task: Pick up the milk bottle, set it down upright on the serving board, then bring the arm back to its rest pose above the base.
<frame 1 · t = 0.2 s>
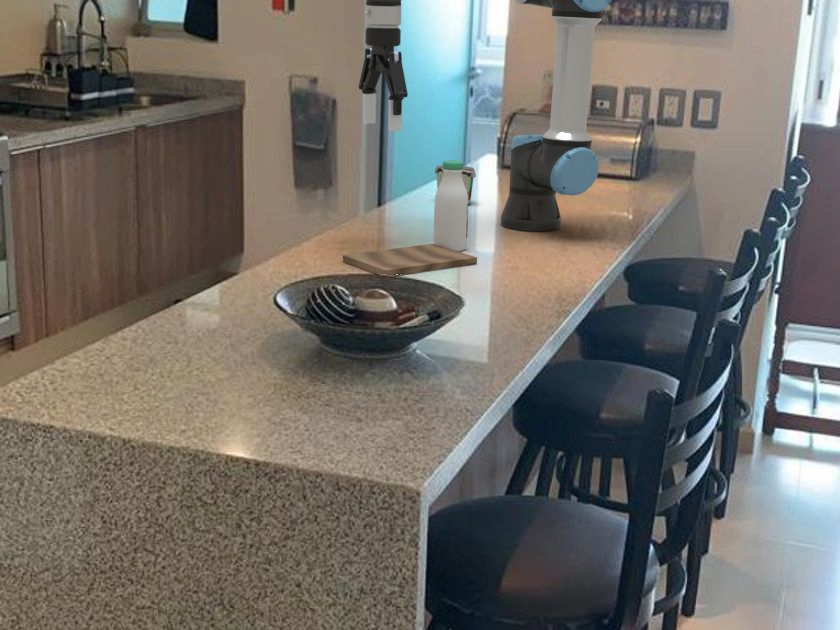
hand: (381, 127, 254), 28 cm above the worktop, fingers open, 13 cm apart
milk bottle: (449, 249, 265), on the worktop
food container: (458, 203, 323), on the worktop
board: (409, 263, 250), on the worktop
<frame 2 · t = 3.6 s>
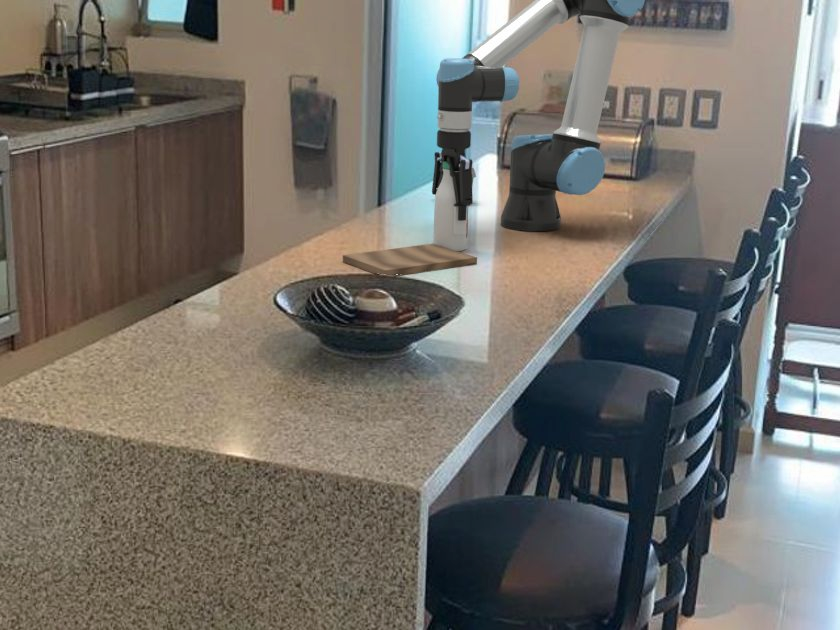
hand: (450, 230, 264), 4 cm above the worktop, fingers closed on milk bottle, 8 cm apart
milk bottle: (450, 249, 265), on the worktop, touching gripper
everything else where it was.
when the fingers open (7 cm above the worktop, at t = 9.9 s): milk bottle drops 1 cm, resting on board.
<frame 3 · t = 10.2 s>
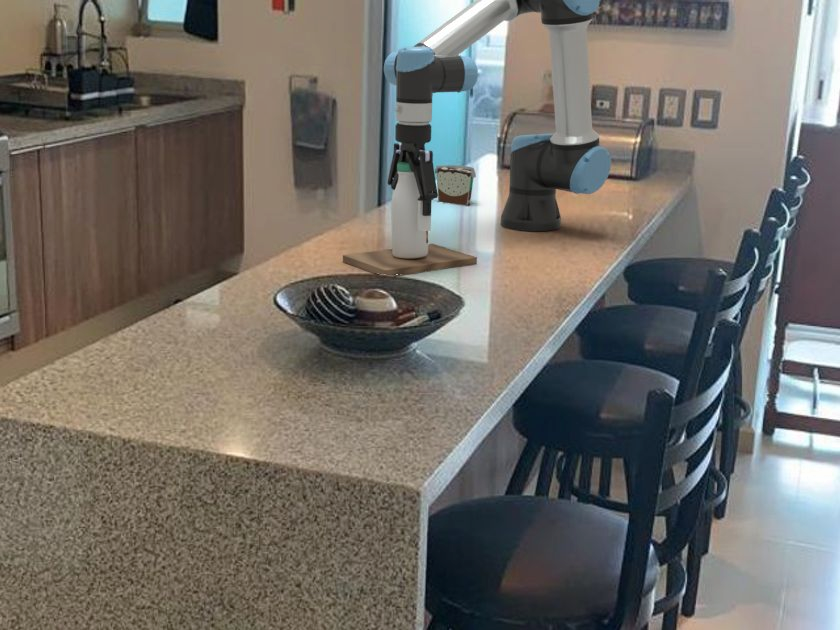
hand: (410, 225, 248), 8 cm above the worktop, fingers open, 12 cm apart
milk bottle: (410, 256, 249), point 1 cm above the worktop, touching board
everything else where it was.
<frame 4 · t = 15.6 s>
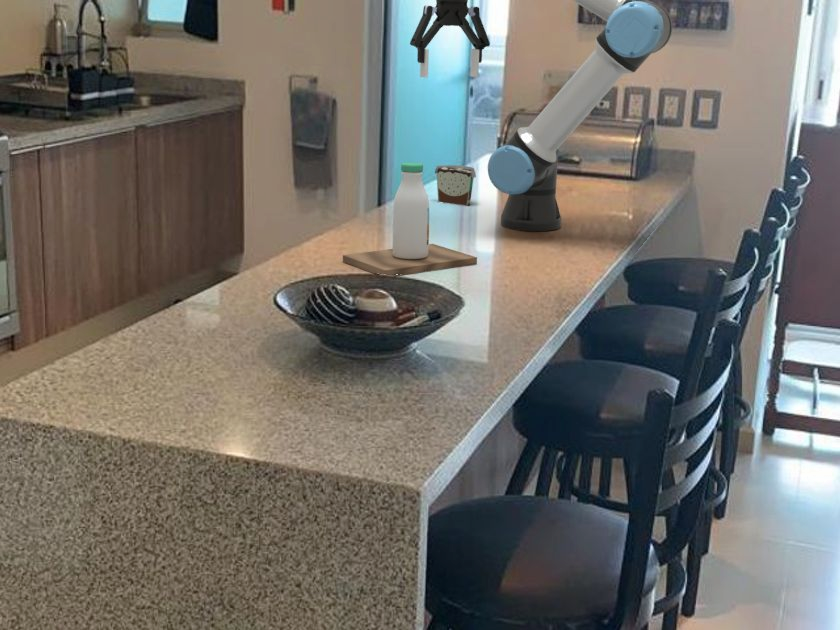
hand: (449, 77, 278), 37 cm above the worktop, fingers open, 13 cm apart
nothing on the worktop moved.
at the end: milk bottle inside the target area on the board (0.1 cm from its centre), point 1.3 cm above the board's base; milk bottle tilted 0°; the gripper is holding nothing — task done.
